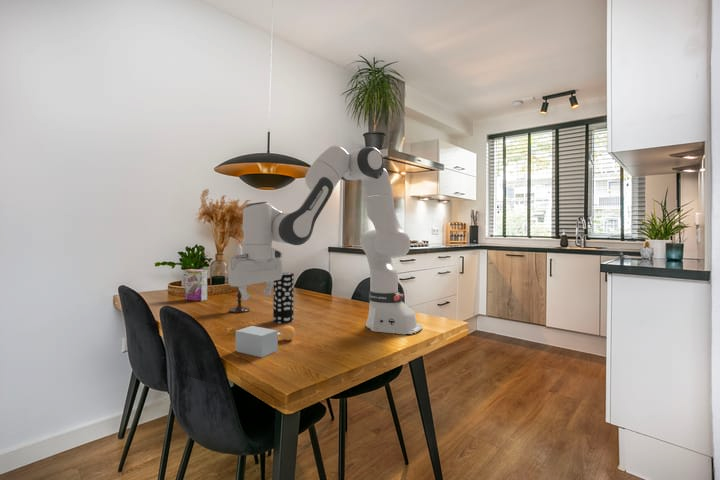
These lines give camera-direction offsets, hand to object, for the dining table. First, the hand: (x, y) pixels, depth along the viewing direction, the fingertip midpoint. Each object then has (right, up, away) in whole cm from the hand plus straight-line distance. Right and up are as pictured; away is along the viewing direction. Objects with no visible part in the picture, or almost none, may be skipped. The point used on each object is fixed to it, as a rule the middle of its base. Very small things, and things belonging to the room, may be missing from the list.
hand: (256, 297), depth 114 cm
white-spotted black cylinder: (0, -16, +39) cm, 42 cm away
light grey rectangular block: (0, -17, 0) cm, 17 cm away
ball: (+7, -14, +12) cm, 20 cm away
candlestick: (-24, -16, +57) cm, 64 cm away
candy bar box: (-56, -15, +82) cm, 100 cm away
